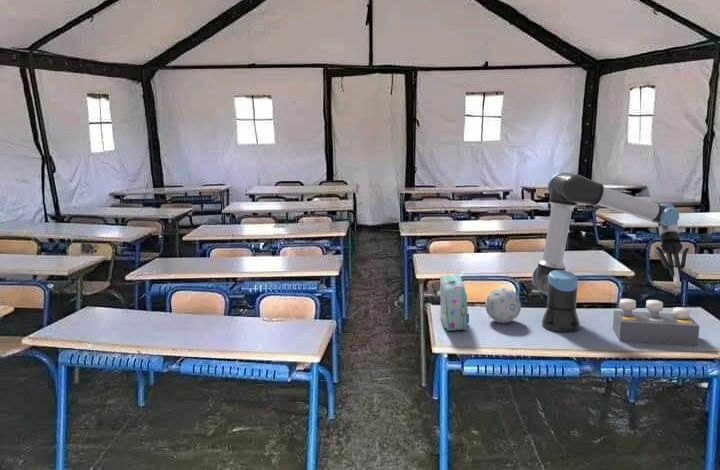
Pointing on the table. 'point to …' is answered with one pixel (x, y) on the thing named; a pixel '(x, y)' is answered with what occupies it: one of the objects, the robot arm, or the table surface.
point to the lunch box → (453, 303)
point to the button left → (627, 306)
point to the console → (655, 329)
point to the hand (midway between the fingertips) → (677, 282)
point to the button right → (681, 313)
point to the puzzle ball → (503, 305)
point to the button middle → (654, 308)
